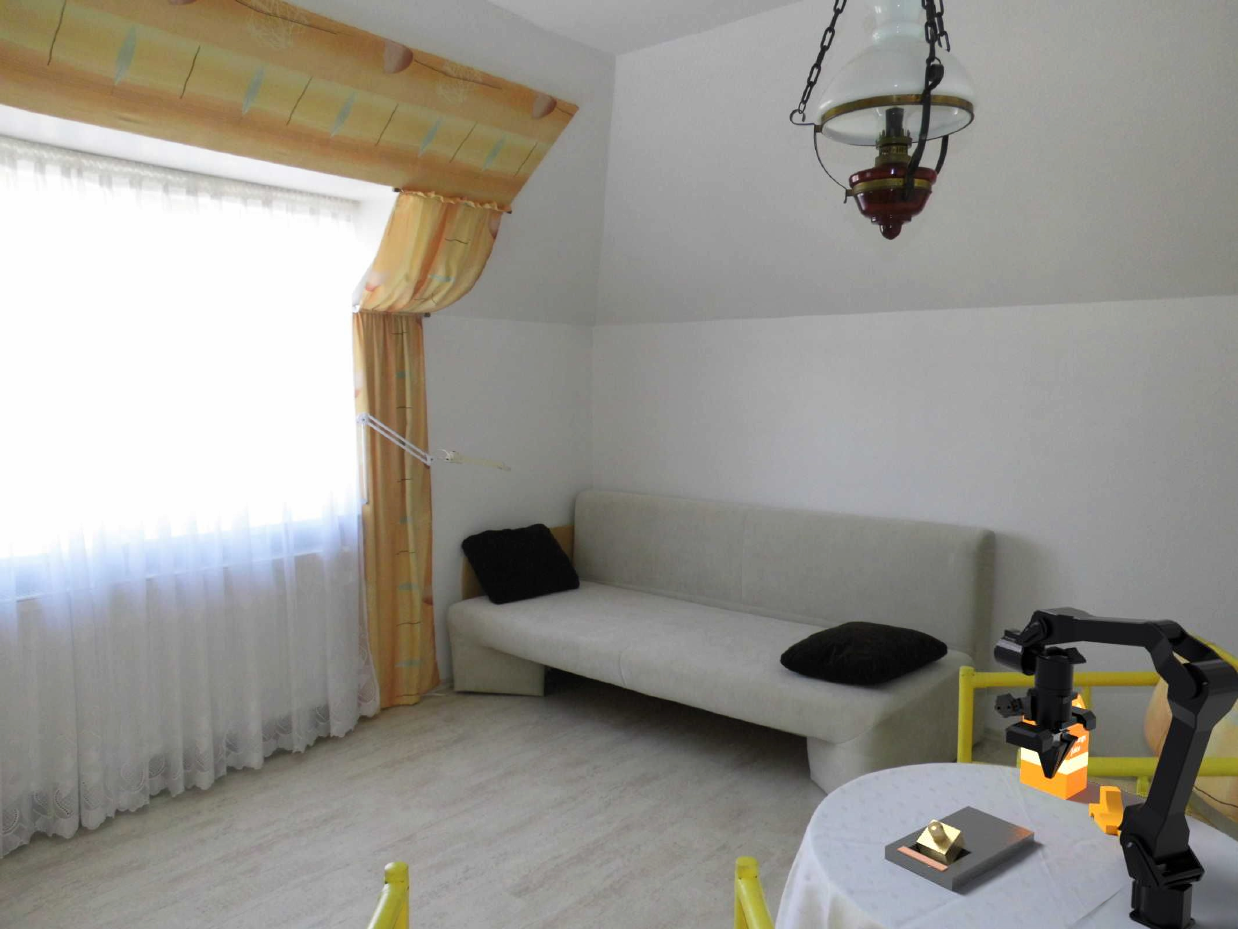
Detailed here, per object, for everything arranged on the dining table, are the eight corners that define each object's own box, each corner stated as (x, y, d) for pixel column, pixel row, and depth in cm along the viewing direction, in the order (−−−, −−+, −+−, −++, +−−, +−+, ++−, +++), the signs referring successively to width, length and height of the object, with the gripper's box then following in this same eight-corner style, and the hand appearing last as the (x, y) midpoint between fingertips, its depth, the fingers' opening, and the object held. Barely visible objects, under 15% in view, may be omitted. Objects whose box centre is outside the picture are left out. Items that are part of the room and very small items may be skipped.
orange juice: (1064, 806, 164) (1070, 699, 163) (1018, 789, 171) (1023, 686, 170) (1086, 796, 169) (1091, 691, 167) (1040, 779, 176) (1045, 679, 174)
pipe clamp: (1088, 821, 159) (1090, 785, 158) (1113, 822, 159) (1115, 786, 158) (1120, 855, 147) (1122, 817, 147) (1148, 857, 147) (1150, 818, 146)
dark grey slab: (1033, 844, 150) (1034, 831, 150) (951, 891, 136) (952, 877, 135) (967, 817, 160) (968, 804, 160) (884, 858, 145) (885, 845, 145)
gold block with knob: (965, 844, 145) (957, 822, 143) (949, 867, 143) (941, 845, 141) (937, 832, 149) (929, 810, 147) (921, 854, 146) (913, 833, 145)
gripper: (1034, 662, 159) (1030, 749, 160) (975, 682, 147) (972, 775, 148) (1099, 678, 150) (1095, 770, 151) (1042, 701, 138) (1038, 799, 140)
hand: (1048, 778), depth 148 cm, fingers closed
